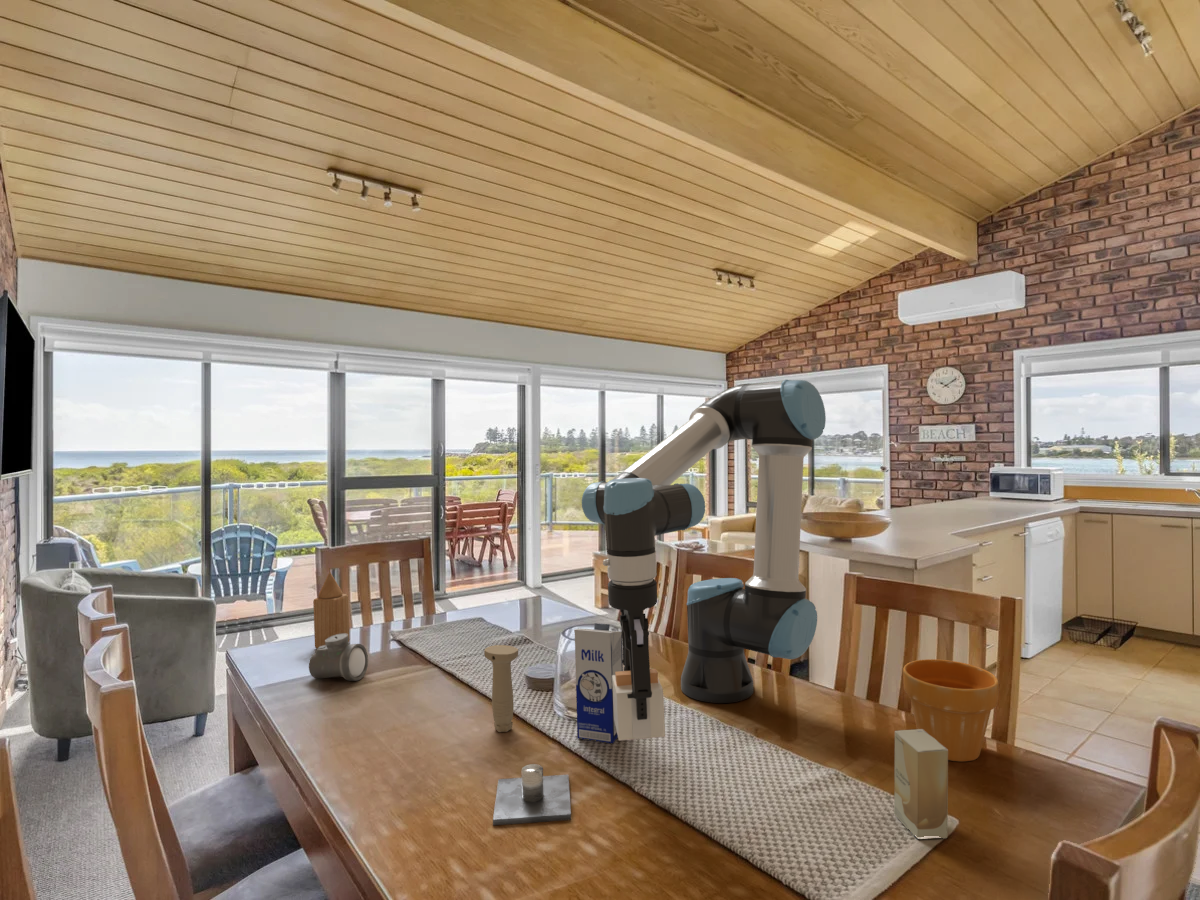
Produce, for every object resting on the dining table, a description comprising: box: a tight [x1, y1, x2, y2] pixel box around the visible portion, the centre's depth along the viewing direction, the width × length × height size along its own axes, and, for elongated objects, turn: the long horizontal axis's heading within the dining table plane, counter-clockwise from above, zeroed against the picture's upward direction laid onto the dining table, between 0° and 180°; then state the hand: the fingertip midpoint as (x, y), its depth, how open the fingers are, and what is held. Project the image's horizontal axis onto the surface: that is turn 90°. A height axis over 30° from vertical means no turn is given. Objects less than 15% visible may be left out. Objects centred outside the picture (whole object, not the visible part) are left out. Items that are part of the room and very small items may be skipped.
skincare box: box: [893, 728, 949, 839], centre depth 90 cm, size 6×4×12 cm
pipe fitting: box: [308, 633, 369, 682], centre depth 152 cm, size 12×8×10 cm, turn 76°
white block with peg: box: [612, 668, 666, 741], centre depth 102 cm, size 7×7×9 cm
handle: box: [483, 644, 519, 733], centre depth 123 cm, size 5×6×15 cm
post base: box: [492, 763, 572, 826], centre depth 99 cm, size 11×11×5 cm
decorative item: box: [312, 571, 351, 649], centre depth 176 cm, size 7×7×20 cm
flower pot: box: [902, 658, 1000, 763], centre depth 111 cm, size 14×14×13 cm
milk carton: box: [573, 622, 624, 744], centre depth 120 cm, size 7×7×20 cm
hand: (638, 725), depth 102 cm, fingers closed on white block with peg, 7 cm apart
